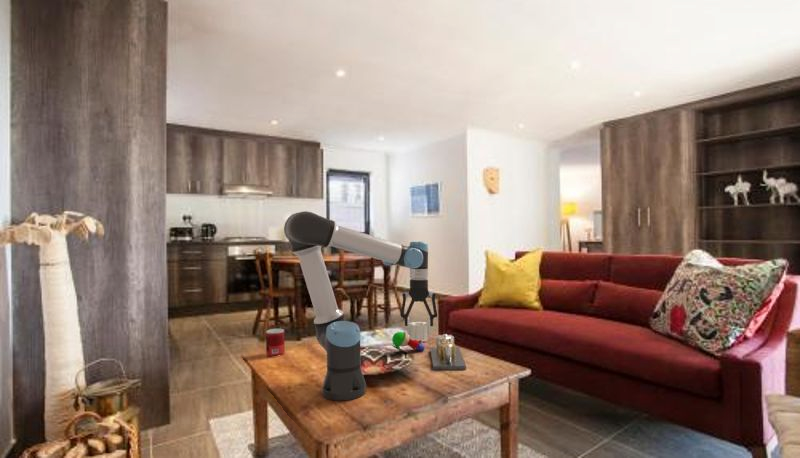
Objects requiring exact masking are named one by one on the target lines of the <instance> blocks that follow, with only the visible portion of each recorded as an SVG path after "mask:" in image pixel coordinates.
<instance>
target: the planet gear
mask: <svg viewBox="0 0 800 458" xmlns="http://www.w3.org/2000/svg"><path fill="white" fill-rule="evenodd" d="M408 336H409V338H411V340H417V341H419V342H421V340H422V341H427V340H428V339H429V335H428V322H425V321H423V322H422V321H416V322H415V321H412V322H409V335H408Z"/></svg>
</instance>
